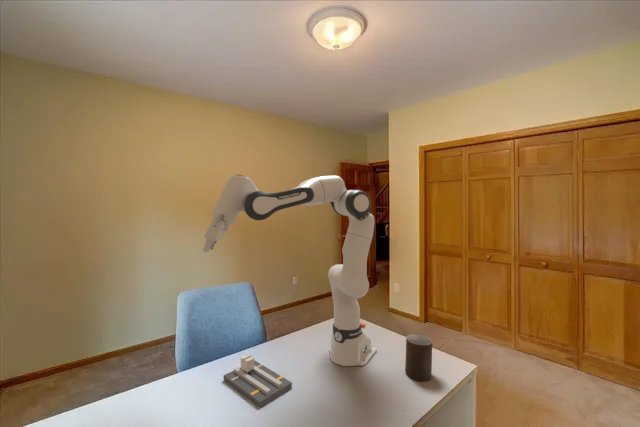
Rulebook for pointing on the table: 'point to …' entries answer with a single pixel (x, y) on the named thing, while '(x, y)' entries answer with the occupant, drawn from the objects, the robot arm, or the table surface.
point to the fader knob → (247, 363)
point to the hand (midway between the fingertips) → (207, 250)
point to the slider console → (258, 384)
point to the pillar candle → (418, 357)
